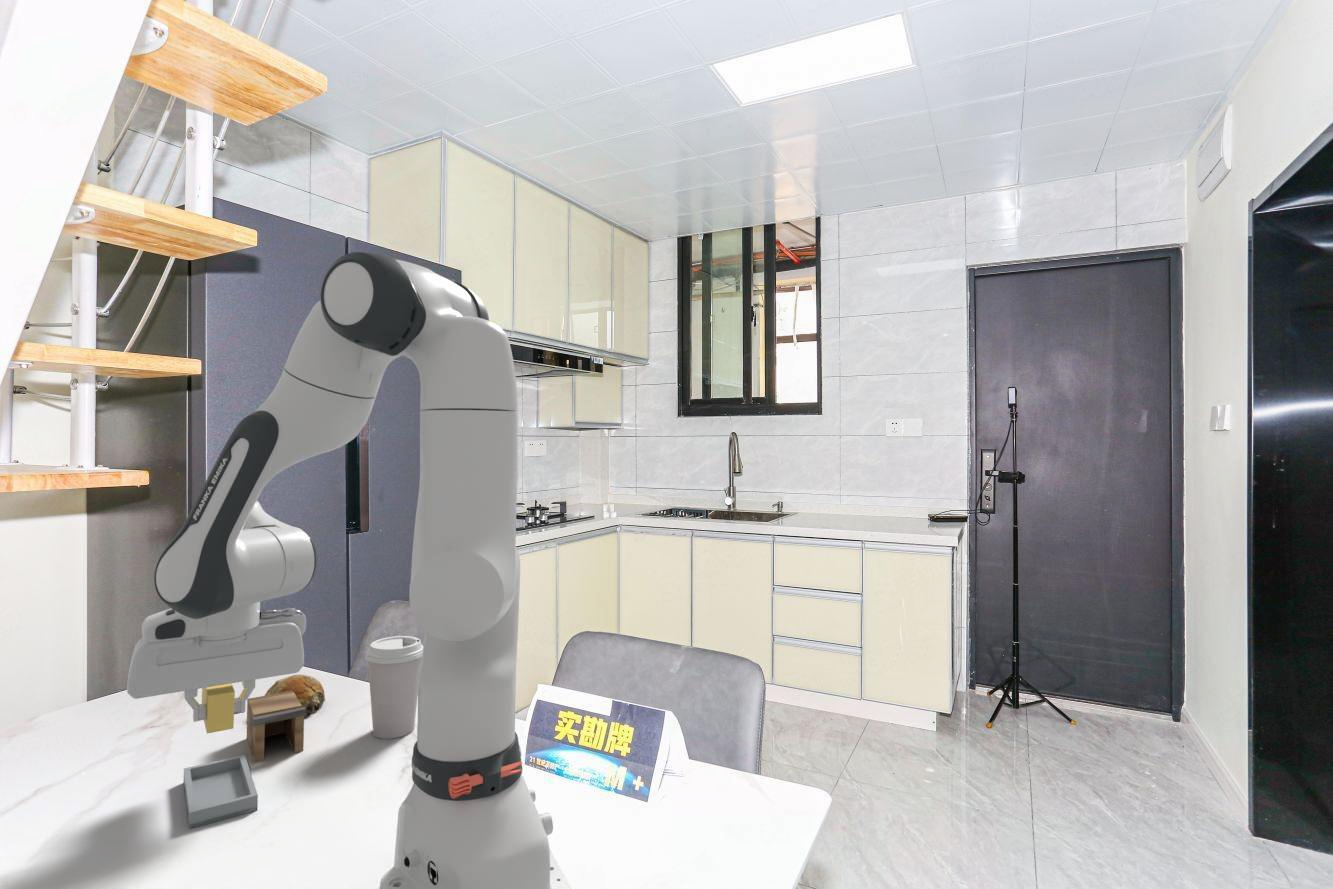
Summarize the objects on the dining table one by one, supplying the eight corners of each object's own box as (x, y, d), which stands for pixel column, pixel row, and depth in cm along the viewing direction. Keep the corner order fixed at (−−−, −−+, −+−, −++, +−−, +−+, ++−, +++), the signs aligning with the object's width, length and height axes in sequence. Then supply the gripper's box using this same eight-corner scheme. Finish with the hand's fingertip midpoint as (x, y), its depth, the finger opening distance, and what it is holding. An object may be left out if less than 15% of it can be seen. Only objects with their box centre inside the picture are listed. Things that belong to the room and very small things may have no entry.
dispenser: (305, 750, 107) (306, 709, 107) (252, 762, 102) (253, 719, 102) (294, 728, 115) (294, 690, 115) (244, 738, 110) (245, 699, 110)
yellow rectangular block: (233, 728, 92) (234, 690, 92) (206, 733, 90) (208, 695, 90) (225, 705, 100) (227, 670, 100) (201, 709, 98) (202, 674, 98)
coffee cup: (410, 743, 110) (412, 651, 110) (352, 742, 110) (354, 650, 110) (432, 719, 119) (433, 635, 119) (378, 718, 119) (380, 634, 119)
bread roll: (318, 717, 128) (314, 675, 131) (334, 709, 122) (329, 664, 124) (259, 731, 122) (255, 686, 124) (272, 723, 115) (268, 675, 117)
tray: (257, 810, 89) (257, 795, 89) (189, 828, 85) (189, 812, 85) (244, 768, 100) (244, 754, 101) (183, 782, 96) (183, 768, 96)
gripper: (302, 601, 102) (299, 693, 101) (129, 620, 89) (125, 724, 89) (311, 610, 97) (307, 707, 97) (128, 631, 84) (125, 742, 84)
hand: (219, 715), depth 93 cm, fingers closed on yellow rectangular block, 3 cm apart
